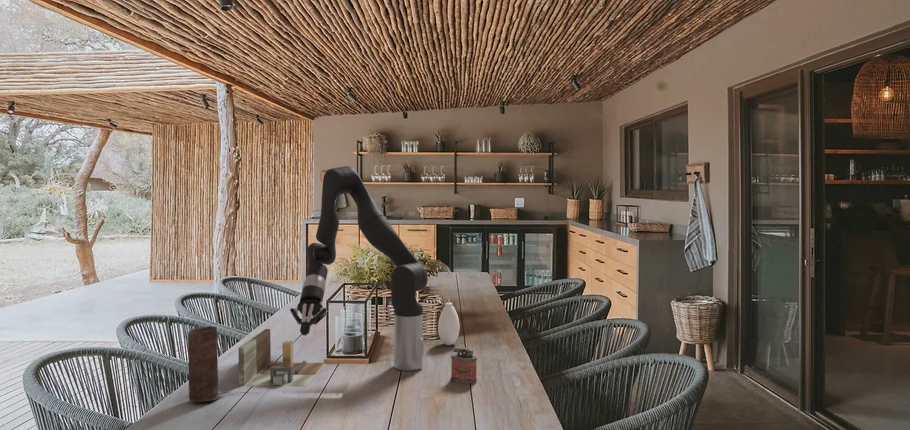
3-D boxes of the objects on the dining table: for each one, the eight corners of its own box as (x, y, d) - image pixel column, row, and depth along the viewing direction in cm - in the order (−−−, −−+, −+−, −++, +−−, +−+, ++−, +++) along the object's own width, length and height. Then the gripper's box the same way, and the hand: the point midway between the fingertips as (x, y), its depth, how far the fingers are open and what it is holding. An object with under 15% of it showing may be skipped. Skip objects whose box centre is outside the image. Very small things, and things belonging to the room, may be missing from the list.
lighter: (478, 380, 174) (478, 347, 174) (475, 384, 171) (475, 350, 171) (452, 377, 177) (453, 345, 177) (449, 381, 174) (449, 348, 173)
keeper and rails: (307, 364, 185) (307, 351, 185) (290, 382, 168) (290, 368, 168) (288, 364, 185) (288, 351, 185) (270, 382, 169) (270, 368, 168)
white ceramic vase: (435, 346, 212) (435, 297, 211) (442, 340, 219) (442, 293, 218) (455, 348, 209) (455, 298, 208) (462, 342, 217) (462, 294, 216)
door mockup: (324, 366, 187) (324, 329, 187) (305, 390, 165) (304, 348, 165) (266, 365, 188) (265, 329, 187) (239, 389, 166) (238, 348, 165)
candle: (207, 407, 152) (205, 331, 152) (182, 405, 154) (181, 330, 153) (224, 396, 160) (223, 325, 159) (200, 394, 161) (199, 323, 160)
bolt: (293, 372, 176) (293, 340, 176) (281, 384, 165) (281, 351, 165) (285, 372, 177) (285, 340, 176) (273, 384, 166) (272, 351, 165)
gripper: (292, 284, 200) (281, 328, 188) (330, 284, 199) (321, 328, 188) (297, 296, 205) (286, 340, 193) (334, 296, 205) (326, 340, 193)
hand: (304, 334), depth 191 cm, fingers closed
